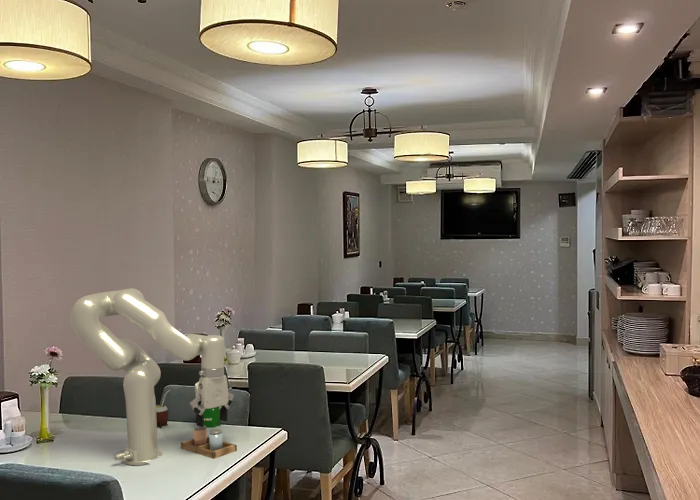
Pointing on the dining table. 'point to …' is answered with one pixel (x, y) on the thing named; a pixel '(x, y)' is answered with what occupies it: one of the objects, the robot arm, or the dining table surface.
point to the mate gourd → (162, 414)
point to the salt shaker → (215, 439)
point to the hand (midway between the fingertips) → (212, 423)
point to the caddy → (208, 448)
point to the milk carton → (210, 414)
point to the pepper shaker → (200, 435)
